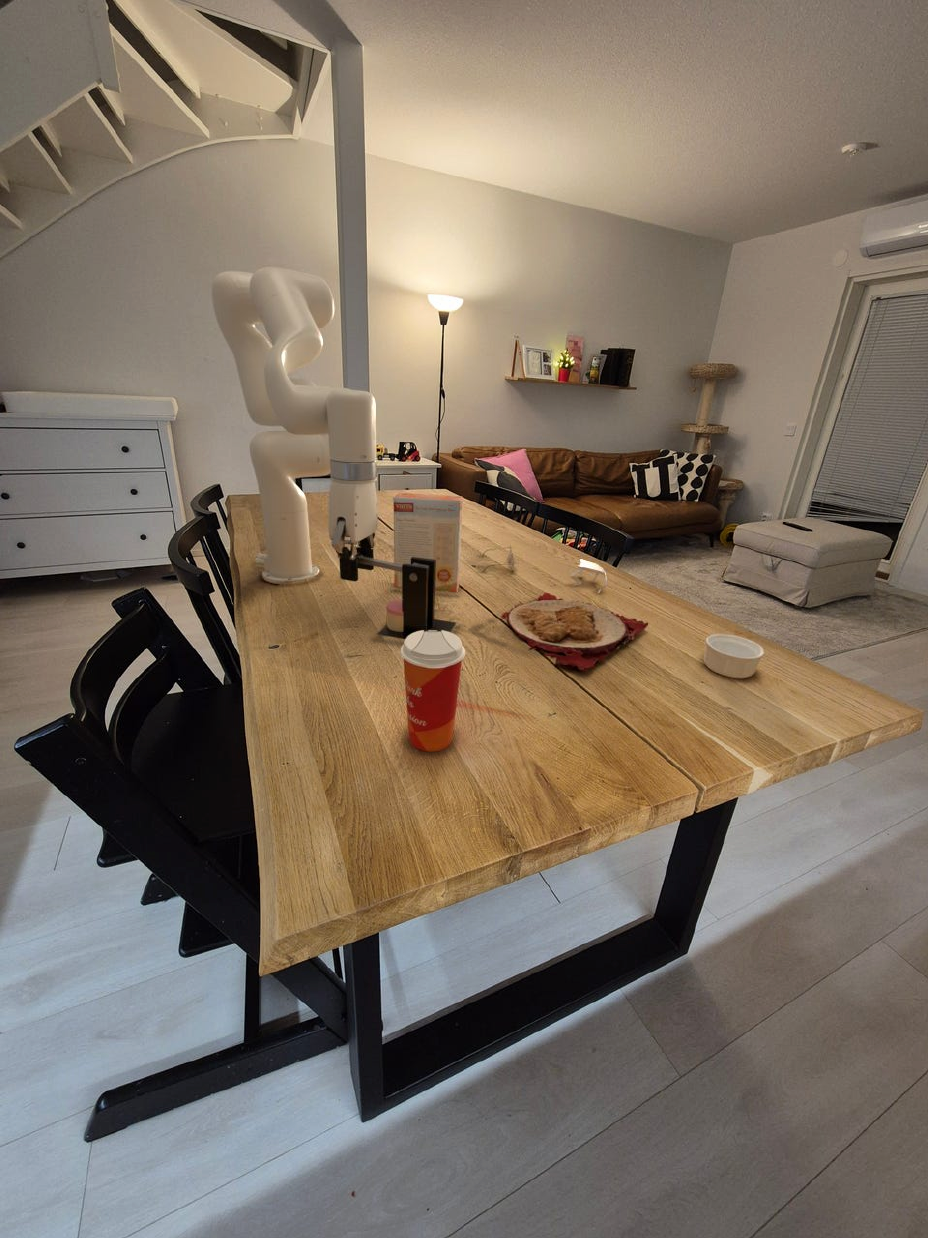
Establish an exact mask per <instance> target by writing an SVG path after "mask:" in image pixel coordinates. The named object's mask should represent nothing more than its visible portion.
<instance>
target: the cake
mask: <svg viewBox="0 0 928 1238" xmlns="http://www.w3.org/2000/svg"><path fill="white" fill-rule="evenodd" d="M385 608H386V625H387V627H388V628H389V629H390V630H393V631H397V632H403V611H402V599H394V600H391V601H388V602H387V604H386V607H385Z"/></svg>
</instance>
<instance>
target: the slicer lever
mask: <svg viewBox="0 0 928 1238" xmlns="http://www.w3.org/2000/svg"><path fill="white" fill-rule="evenodd" d="M366 555H367V554H366V552H365V551H363V550H362V551H360V552H358V553H356V555H355V559H358V563H363V564H367V565H372V566H374V567H377V568H381V569H385V570H390V571H394V570H395V571H399V572H402V565H401V564H397V563H394V562H391V561H387V560H382V559H379V558H375V557H374V558H369V557H366ZM413 565H420V566H427V567H428V574H429V565H424V564H420V563H415V562H414V563H413Z"/></svg>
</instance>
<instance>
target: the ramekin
mask: <svg viewBox="0 0 928 1238" xmlns="http://www.w3.org/2000/svg"><path fill="white" fill-rule="evenodd" d="M764 654H765V650H764V648H763V647H762V646H761V645H759V644H758V643H757V642H755V641H753V640H750V639H748V638H745V637H742V636H739V635H733V634H727V633H717V634H711V635H709V636H707V637H706V639H705V649H704V655H703V662H704V664H705V666H706V667H707V668H708V669H709V670H711V671H712V672H714V673H716V674H719V675H720V676H723V677H728V678H734V679H747V678H750V677H752V676H753V675H754V674H755V672H756V670H757V668H758V665H759V664H760V661H761V659H762V658H763V657H764Z"/></svg>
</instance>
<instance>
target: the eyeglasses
mask: <svg viewBox="0 0 928 1238" xmlns="http://www.w3.org/2000/svg"><path fill="white" fill-rule="evenodd" d="M502 549H504V550H505V549H509V554H508V555H507V556H508V560H509V562H508V563H507V562H506V563H501V564H499V566H504V565H511V569H512V572H514V571H515V563H516V562H515V556H514V555H515V554H514V553H513V548H512V545H510V546H507V547H500V548H498V550H502ZM494 550H496V548H492V549H490V551H494ZM488 551H489V549H486V550H485V551H484V552H483V554H482V555H481V557H484V555H485V554H486V552H488ZM495 566H497V564H493V565H487V566H486V567H485V568H484V570H483V571H482V573H484V572H485V571H486V570H487V568H489V567H495Z"/></svg>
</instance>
